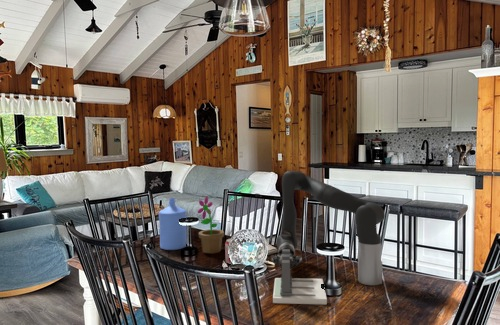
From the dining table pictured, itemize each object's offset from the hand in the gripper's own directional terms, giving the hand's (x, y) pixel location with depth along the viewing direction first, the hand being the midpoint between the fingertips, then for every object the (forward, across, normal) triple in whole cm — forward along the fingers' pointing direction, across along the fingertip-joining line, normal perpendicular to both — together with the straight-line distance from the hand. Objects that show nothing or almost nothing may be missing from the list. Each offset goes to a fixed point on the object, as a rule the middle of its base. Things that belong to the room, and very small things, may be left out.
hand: (286, 265), depth 154 cm
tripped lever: (-3, 0, +7) cm, 7 cm away
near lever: (+11, 0, +7) cm, 13 cm away
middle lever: (+4, 0, +7) cm, 8 cm away
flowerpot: (-50, -42, +10) cm, 66 cm away
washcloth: (-51, -15, +10) cm, 54 cm away
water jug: (-57, -66, +10) cm, 88 cm away
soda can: (-29, -27, +10) cm, 41 cm away
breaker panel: (+4, +5, +10) cm, 12 cm away
